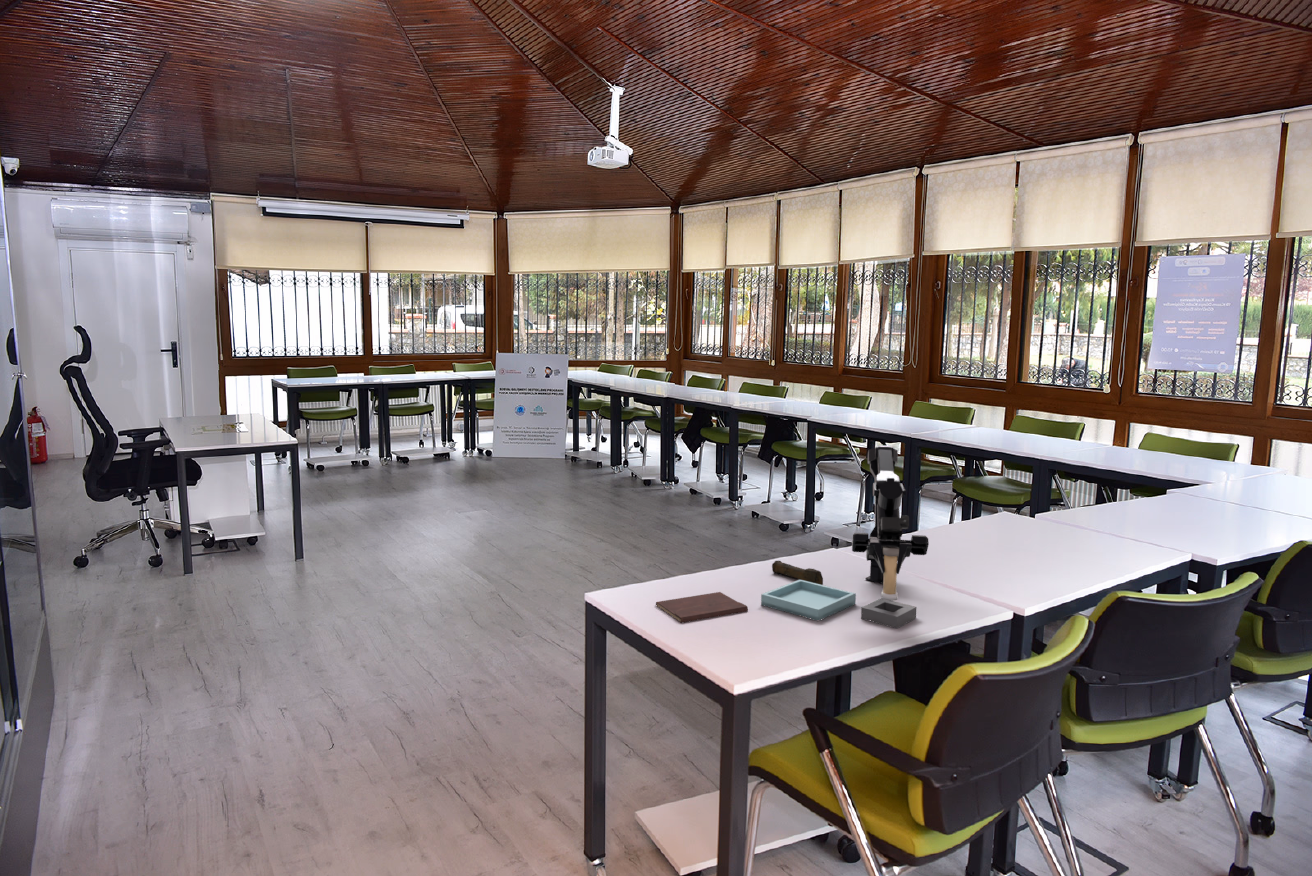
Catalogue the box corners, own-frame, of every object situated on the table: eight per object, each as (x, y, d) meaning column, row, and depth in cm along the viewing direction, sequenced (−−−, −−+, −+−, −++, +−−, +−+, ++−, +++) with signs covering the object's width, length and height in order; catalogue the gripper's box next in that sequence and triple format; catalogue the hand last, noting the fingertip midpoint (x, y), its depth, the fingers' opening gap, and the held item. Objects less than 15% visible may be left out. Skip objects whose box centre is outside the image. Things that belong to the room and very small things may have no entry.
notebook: (655, 607, 223) (655, 600, 223) (719, 597, 232) (719, 590, 231) (681, 625, 210) (681, 617, 210) (747, 613, 218) (748, 606, 218)
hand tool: (770, 573, 252) (771, 559, 252) (780, 571, 254) (780, 556, 254) (815, 590, 237) (815, 574, 236) (825, 587, 239) (825, 571, 238)
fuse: (886, 594, 214) (887, 545, 213) (900, 598, 212) (902, 548, 210) (878, 598, 211) (879, 548, 210) (892, 601, 209) (894, 551, 207)
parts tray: (799, 589, 236) (799, 579, 235) (855, 604, 223) (855, 593, 223) (761, 605, 223) (761, 594, 223) (818, 621, 211) (818, 609, 210)
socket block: (880, 609, 219) (881, 598, 219) (916, 618, 212) (916, 606, 212) (861, 618, 212) (861, 607, 212) (897, 628, 205) (897, 616, 205)
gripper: (853, 502, 214) (854, 555, 205) (929, 504, 210) (933, 559, 201) (851, 525, 223) (852, 576, 213) (924, 527, 219) (927, 580, 210)
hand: (890, 573), depth 209 cm, fingers closed on fuse, 3 cm apart
